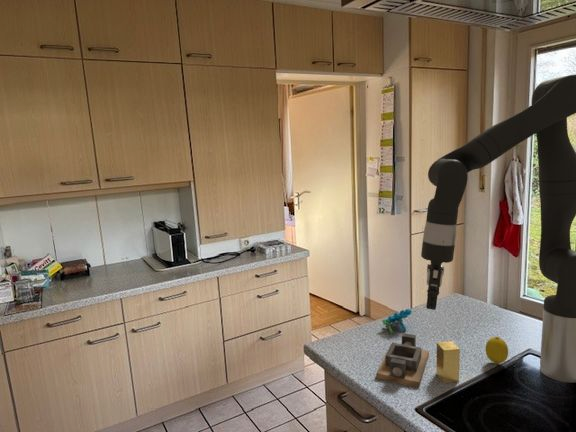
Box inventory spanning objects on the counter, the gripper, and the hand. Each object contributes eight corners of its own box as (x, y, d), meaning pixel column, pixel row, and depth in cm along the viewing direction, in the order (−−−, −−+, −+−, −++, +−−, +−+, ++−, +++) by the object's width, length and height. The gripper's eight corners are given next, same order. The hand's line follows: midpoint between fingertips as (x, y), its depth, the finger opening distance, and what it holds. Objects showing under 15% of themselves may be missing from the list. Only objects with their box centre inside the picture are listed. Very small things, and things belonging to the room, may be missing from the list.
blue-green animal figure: (404, 315, 141) (414, 304, 133) (412, 331, 138) (423, 320, 130) (376, 325, 139) (385, 313, 130) (384, 341, 135) (393, 330, 127)
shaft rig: (428, 355, 117) (429, 336, 116) (419, 387, 102) (419, 366, 101) (390, 348, 122) (390, 330, 121) (376, 378, 107) (376, 357, 106)
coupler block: (451, 372, 108) (452, 341, 106) (459, 381, 104) (459, 348, 102) (436, 373, 108) (436, 342, 106) (443, 382, 104) (443, 350, 102)
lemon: (508, 370, 107) (509, 343, 106) (485, 367, 110) (486, 339, 108) (506, 360, 112) (508, 334, 111) (485, 357, 115) (485, 331, 113)
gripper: (456, 248, 91) (447, 316, 94) (454, 237, 104) (446, 296, 107) (421, 244, 93) (414, 310, 96) (423, 233, 107) (417, 292, 109)
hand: (431, 303), depth 101 cm, fingers open, 8 cm apart
